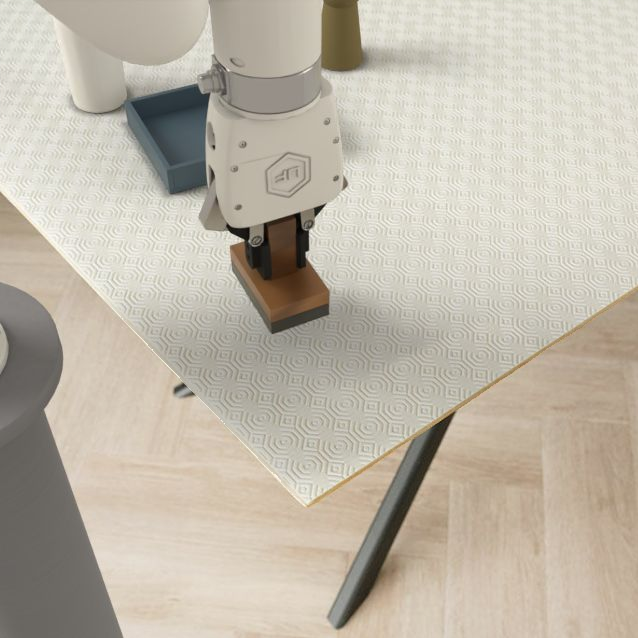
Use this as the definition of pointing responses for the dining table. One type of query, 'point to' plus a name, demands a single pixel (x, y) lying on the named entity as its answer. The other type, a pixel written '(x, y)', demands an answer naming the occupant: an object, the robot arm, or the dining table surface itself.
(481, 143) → the dining table surface
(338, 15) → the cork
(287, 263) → the brush
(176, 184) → the tray
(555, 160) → the dining table surface
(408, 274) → the dining table surface
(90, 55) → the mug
